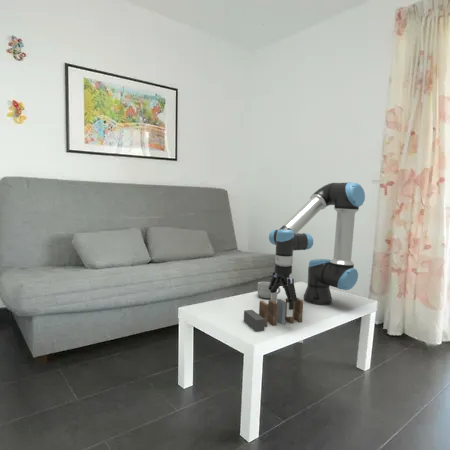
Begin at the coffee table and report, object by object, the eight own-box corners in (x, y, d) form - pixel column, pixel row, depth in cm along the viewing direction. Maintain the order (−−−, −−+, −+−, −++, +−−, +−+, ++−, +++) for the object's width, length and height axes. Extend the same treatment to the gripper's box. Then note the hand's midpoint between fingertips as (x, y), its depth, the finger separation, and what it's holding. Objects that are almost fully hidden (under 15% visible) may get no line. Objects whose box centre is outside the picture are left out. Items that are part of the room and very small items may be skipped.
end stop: (251, 320, 152) (252, 309, 152) (264, 330, 141) (264, 319, 141) (243, 321, 151) (244, 310, 150) (255, 331, 140) (256, 320, 139)
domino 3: (279, 320, 154) (280, 299, 153) (284, 324, 149) (286, 302, 148) (275, 320, 153) (277, 299, 152) (281, 324, 148) (282, 302, 147)
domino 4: (287, 319, 155) (288, 298, 154) (293, 323, 151) (294, 301, 150) (284, 319, 155) (285, 298, 154) (290, 323, 150) (291, 301, 149)
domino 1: (261, 322, 150) (262, 300, 149) (267, 326, 146) (268, 304, 145) (258, 322, 150) (259, 301, 149) (263, 327, 145) (265, 304, 144)
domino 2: (270, 321, 152) (271, 299, 151) (276, 325, 147) (277, 303, 146) (267, 321, 151) (268, 300, 150) (272, 325, 147) (274, 303, 146)
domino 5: (295, 318, 157) (296, 297, 156) (302, 322, 152) (303, 300, 151) (292, 318, 156) (294, 297, 155) (299, 322, 152) (300, 301, 151)
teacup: (253, 296, 190) (253, 282, 189) (267, 293, 196) (267, 279, 195) (270, 302, 178) (271, 288, 178) (284, 299, 185) (285, 285, 184)
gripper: (262, 259, 159) (260, 303, 161) (291, 271, 136) (289, 322, 138) (276, 258, 162) (274, 301, 163) (307, 270, 138) (304, 320, 140)
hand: (281, 311), depth 150 cm, fingers open, 13 cm apart
